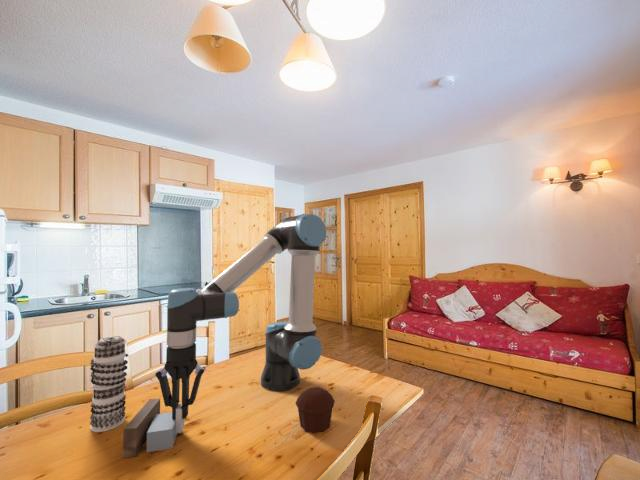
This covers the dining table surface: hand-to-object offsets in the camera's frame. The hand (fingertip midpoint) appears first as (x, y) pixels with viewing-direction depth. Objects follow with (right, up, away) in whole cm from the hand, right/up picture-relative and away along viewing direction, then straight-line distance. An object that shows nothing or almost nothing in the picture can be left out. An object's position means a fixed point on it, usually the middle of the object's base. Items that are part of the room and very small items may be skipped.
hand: (179, 430), depth 82 cm
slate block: (-4, -2, -2) cm, 4 cm away
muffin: (+38, -2, +5) cm, 38 cm away
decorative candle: (-24, -2, +6) cm, 25 cm away
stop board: (-9, -1, -1) cm, 10 cm away
